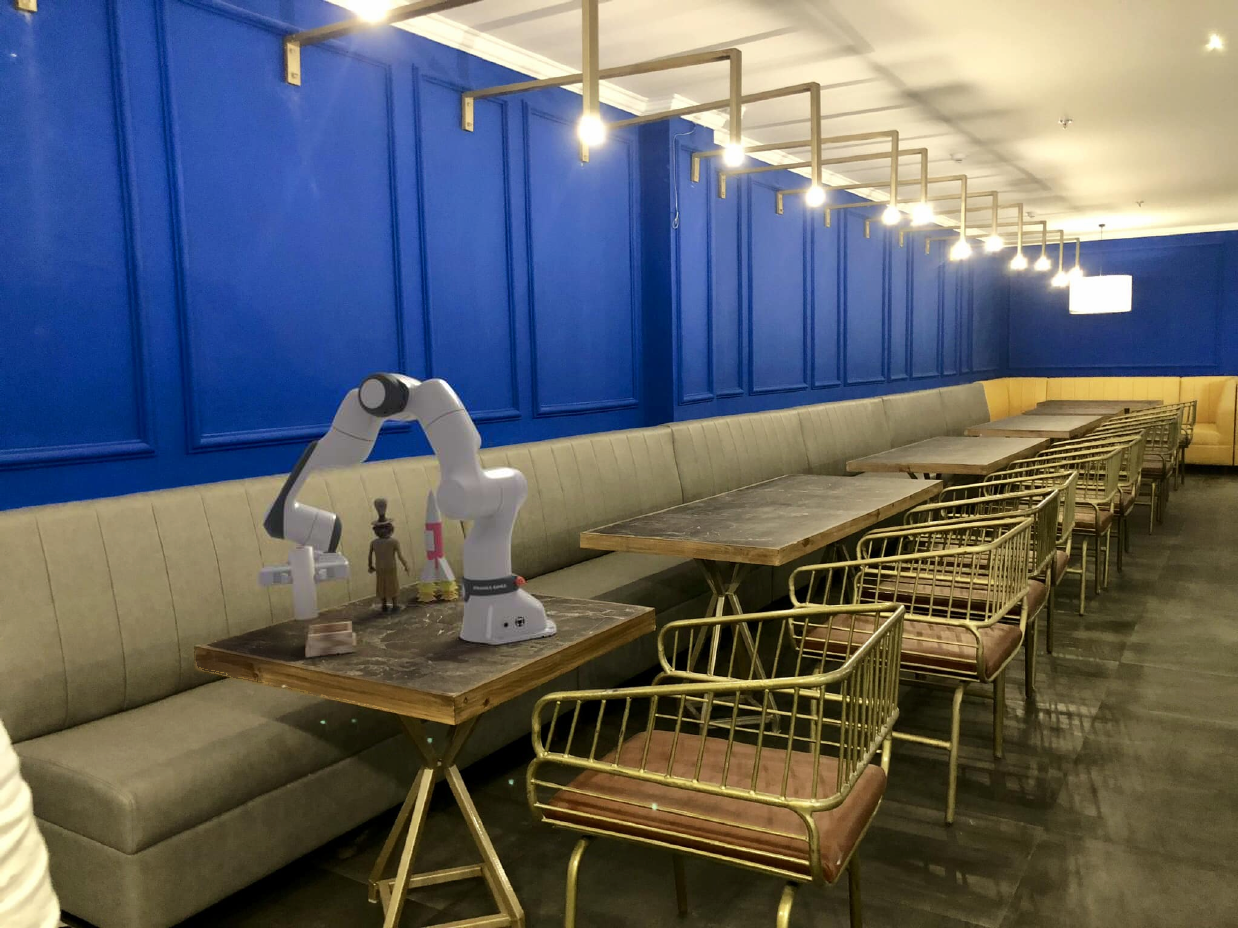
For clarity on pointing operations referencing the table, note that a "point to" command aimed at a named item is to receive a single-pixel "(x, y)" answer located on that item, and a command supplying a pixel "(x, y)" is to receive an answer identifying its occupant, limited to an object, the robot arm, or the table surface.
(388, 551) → the figurine
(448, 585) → the toy rocket
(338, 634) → the holder
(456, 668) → the table surface
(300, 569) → the roll
